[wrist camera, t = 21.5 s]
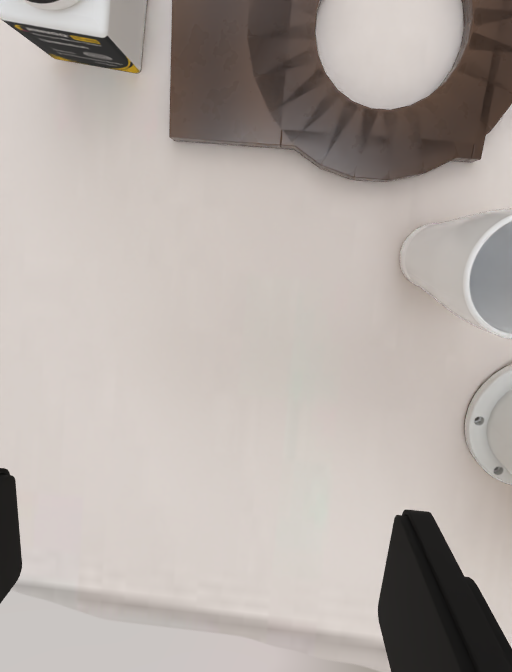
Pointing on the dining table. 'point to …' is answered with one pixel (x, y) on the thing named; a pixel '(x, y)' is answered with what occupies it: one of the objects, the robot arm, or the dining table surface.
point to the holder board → (328, 90)
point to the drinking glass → (466, 267)
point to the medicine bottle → (82, 29)
